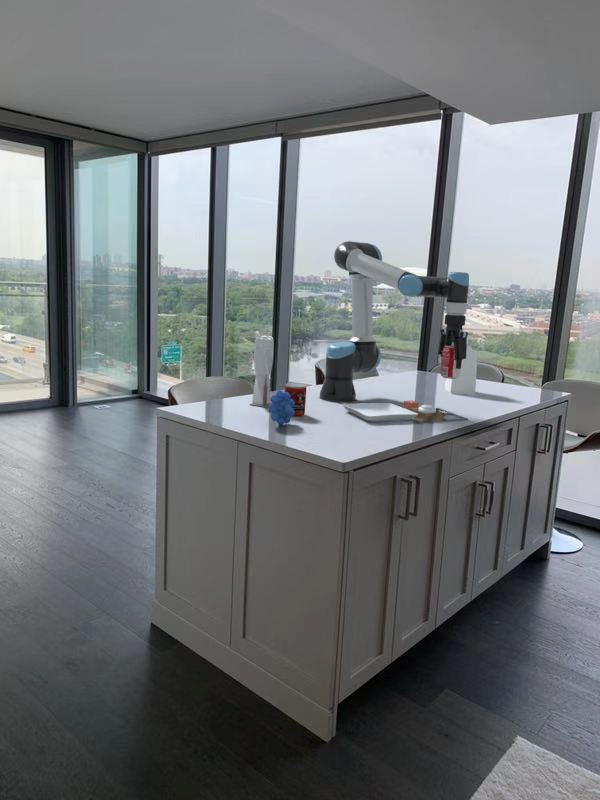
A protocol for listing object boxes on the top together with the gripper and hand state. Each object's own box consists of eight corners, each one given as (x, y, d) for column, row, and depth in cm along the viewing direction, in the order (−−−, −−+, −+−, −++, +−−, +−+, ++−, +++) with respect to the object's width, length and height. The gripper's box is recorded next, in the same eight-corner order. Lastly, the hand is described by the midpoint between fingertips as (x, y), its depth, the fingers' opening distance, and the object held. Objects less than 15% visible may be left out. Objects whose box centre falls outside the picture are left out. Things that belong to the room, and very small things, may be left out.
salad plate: (340, 412, 234) (341, 403, 233) (389, 410, 242) (390, 401, 241) (367, 425, 215) (367, 415, 214) (418, 423, 223) (419, 413, 222)
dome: (423, 416, 225) (424, 408, 224) (414, 412, 231) (415, 404, 230) (438, 416, 227) (439, 407, 227) (429, 412, 233) (430, 404, 232)
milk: (475, 395, 285) (481, 339, 280) (450, 393, 285) (456, 337, 280) (468, 390, 297) (474, 336, 292) (444, 389, 297) (450, 335, 292)
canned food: (289, 417, 218) (291, 386, 216) (280, 412, 225) (281, 383, 223) (308, 416, 222) (310, 386, 220) (298, 411, 229) (300, 382, 227)
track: (445, 421, 226) (445, 419, 226) (417, 409, 244) (417, 408, 244) (468, 420, 230) (468, 418, 230) (438, 409, 248) (439, 407, 248)
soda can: (460, 377, 234) (463, 346, 232) (457, 379, 228) (460, 347, 226) (442, 375, 237) (445, 344, 235) (438, 377, 231) (441, 346, 229)
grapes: (277, 430, 199) (279, 393, 196) (263, 426, 203) (264, 390, 201) (302, 425, 207) (304, 390, 205) (287, 421, 212) (289, 387, 209)
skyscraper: (246, 404, 235) (249, 331, 230) (256, 401, 243) (259, 330, 237) (265, 407, 232) (269, 333, 227) (275, 404, 239) (279, 332, 234)
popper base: (422, 421, 224) (423, 413, 223) (409, 416, 232) (410, 408, 231) (443, 420, 227) (444, 412, 226) (430, 415, 235) (430, 407, 234)
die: (410, 413, 237) (411, 402, 236) (403, 411, 240) (403, 400, 239) (417, 412, 239) (418, 402, 239) (410, 410, 242) (411, 400, 242)
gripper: (480, 316, 220) (474, 379, 225) (448, 313, 239) (443, 371, 243) (463, 315, 218) (457, 379, 222) (431, 312, 236) (426, 371, 240)
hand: (449, 375), depth 232 cm, fingers closed on soda can, 7 cm apart
